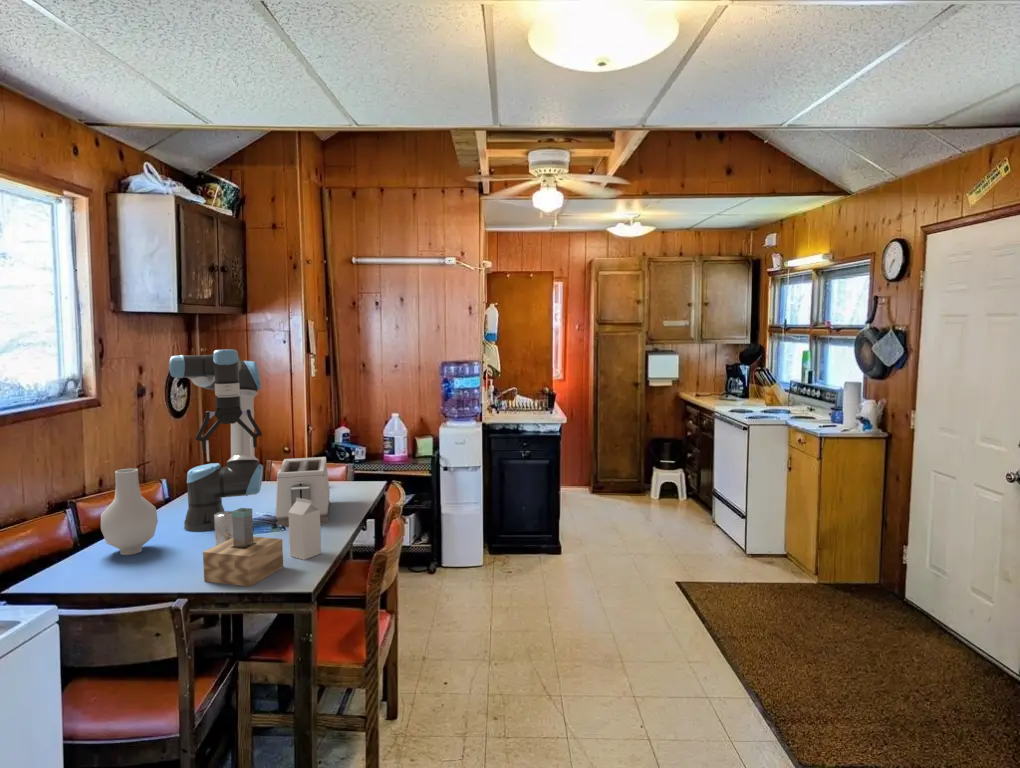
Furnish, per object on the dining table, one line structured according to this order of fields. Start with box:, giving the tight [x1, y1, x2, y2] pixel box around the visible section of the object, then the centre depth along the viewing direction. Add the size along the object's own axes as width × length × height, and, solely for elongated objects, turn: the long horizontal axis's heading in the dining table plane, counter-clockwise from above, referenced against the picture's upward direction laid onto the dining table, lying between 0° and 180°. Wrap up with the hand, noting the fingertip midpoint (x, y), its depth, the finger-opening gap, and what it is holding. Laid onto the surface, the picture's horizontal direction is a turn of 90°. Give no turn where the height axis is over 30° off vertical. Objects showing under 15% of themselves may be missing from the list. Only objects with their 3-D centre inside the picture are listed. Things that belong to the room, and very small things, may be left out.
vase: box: [100, 468, 159, 556], centre depth 216 cm, size 17×16×28 cm
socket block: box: [202, 535, 284, 587], centre depth 196 cm, size 16×16×9 cm
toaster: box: [275, 456, 331, 527], centre depth 258 cm, size 19×34×21 cm, turn 14°
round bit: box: [214, 510, 233, 546], centre depth 213 cm, size 6×6×14 cm
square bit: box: [231, 507, 254, 549], centre depth 195 cm, size 4×4×16 cm
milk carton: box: [288, 498, 322, 561], centre depth 212 cm, size 7×7×19 cm
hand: (230, 458), depth 214 cm, fingers open, 13 cm apart
